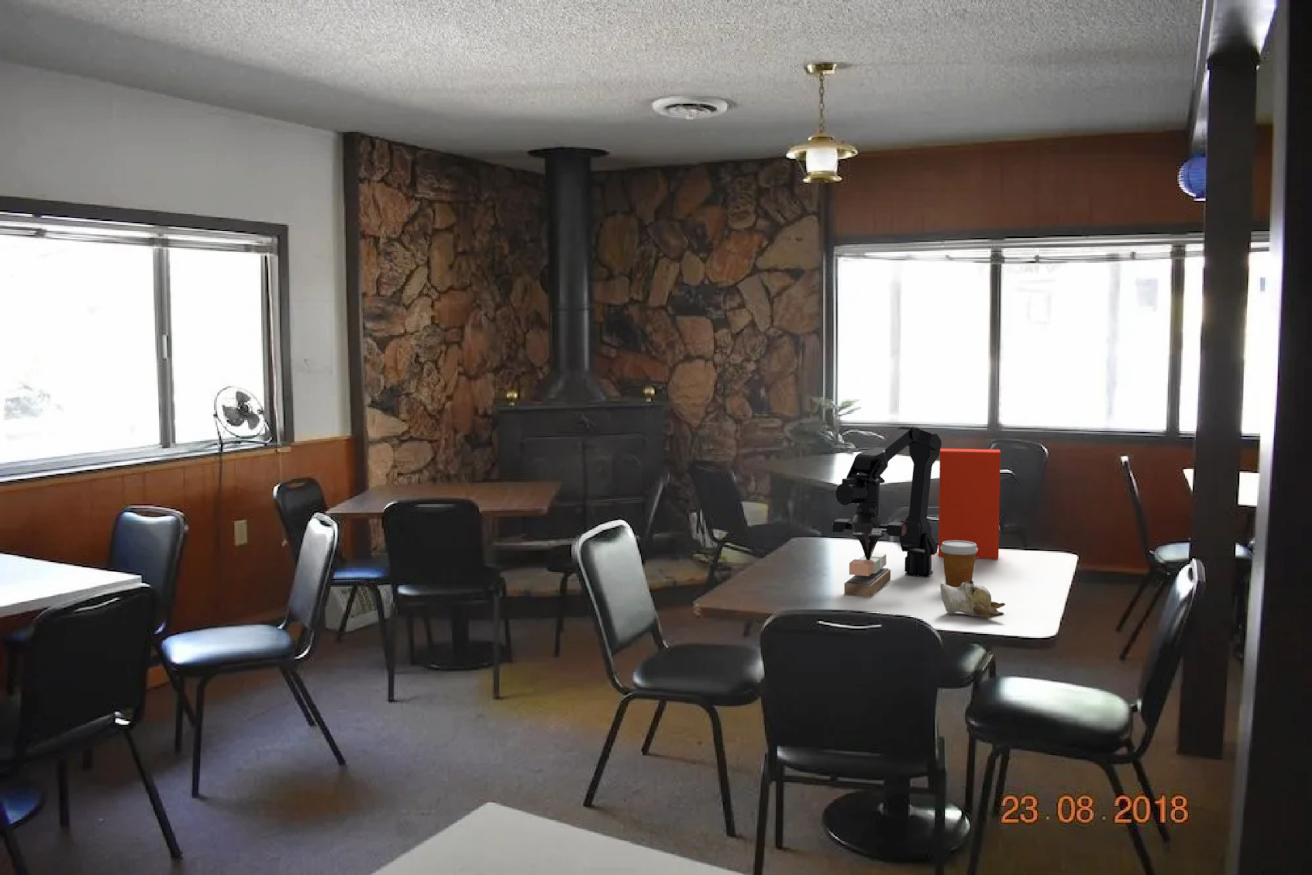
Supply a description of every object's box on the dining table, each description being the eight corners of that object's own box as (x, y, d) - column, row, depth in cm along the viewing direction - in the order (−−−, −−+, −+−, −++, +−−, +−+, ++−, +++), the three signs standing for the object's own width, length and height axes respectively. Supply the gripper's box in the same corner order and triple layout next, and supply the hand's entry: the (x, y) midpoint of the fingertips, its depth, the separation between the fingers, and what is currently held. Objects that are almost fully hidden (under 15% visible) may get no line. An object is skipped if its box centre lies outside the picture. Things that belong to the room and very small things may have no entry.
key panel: (890, 580, 293) (890, 568, 293) (871, 597, 274) (871, 584, 274) (865, 578, 296) (865, 565, 296) (844, 594, 277) (844, 581, 277)
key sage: (879, 569, 286) (879, 558, 286) (875, 573, 281) (875, 562, 281) (861, 568, 288) (861, 557, 288) (856, 571, 283) (856, 560, 283)
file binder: (998, 559, 319) (1000, 452, 316) (938, 556, 324) (939, 451, 321) (997, 554, 327) (999, 449, 324) (938, 551, 332) (940, 448, 329)
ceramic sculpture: (943, 572, 262) (1007, 579, 257) (940, 606, 263) (1004, 615, 258) (939, 581, 252) (1005, 590, 248) (936, 617, 254) (1002, 626, 249)
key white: (886, 564, 292) (886, 553, 292) (881, 568, 288) (881, 557, 287) (867, 563, 294) (868, 552, 294) (863, 566, 290) (863, 555, 290)
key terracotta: (873, 572, 279) (873, 560, 279) (868, 576, 275) (868, 564, 275) (854, 570, 282) (854, 559, 281) (849, 574, 277) (849, 562, 277)
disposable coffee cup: (957, 594, 276) (958, 548, 275) (932, 587, 285) (932, 542, 284) (985, 590, 281) (986, 544, 280) (959, 582, 289) (960, 538, 288)
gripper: (825, 503, 280) (825, 562, 281) (897, 507, 272) (896, 568, 273) (837, 497, 290) (837, 554, 291) (906, 501, 282) (906, 560, 283)
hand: (868, 559), depth 284 cm, fingers closed, pressing on key sage
